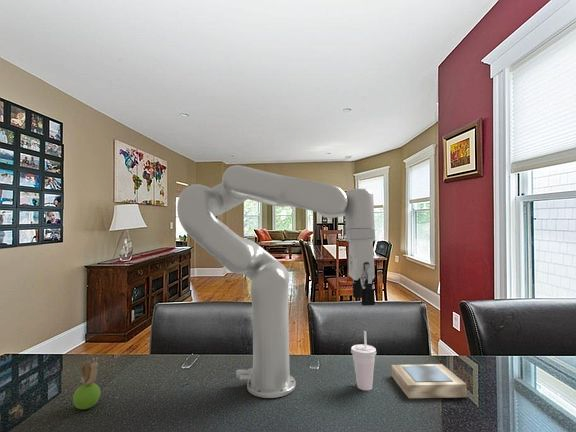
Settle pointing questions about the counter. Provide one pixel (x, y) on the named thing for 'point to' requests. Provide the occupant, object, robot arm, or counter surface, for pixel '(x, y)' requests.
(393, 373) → the plinth
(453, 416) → the counter surface
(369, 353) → the smoothie
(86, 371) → the snail figurine
